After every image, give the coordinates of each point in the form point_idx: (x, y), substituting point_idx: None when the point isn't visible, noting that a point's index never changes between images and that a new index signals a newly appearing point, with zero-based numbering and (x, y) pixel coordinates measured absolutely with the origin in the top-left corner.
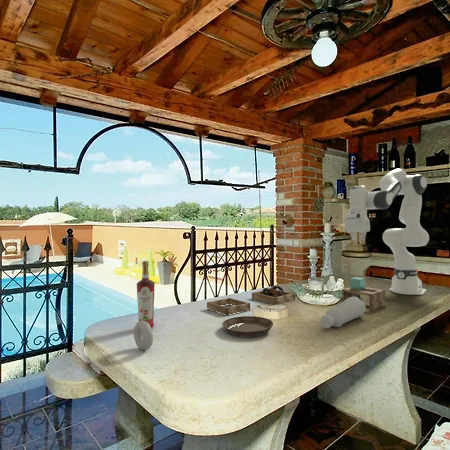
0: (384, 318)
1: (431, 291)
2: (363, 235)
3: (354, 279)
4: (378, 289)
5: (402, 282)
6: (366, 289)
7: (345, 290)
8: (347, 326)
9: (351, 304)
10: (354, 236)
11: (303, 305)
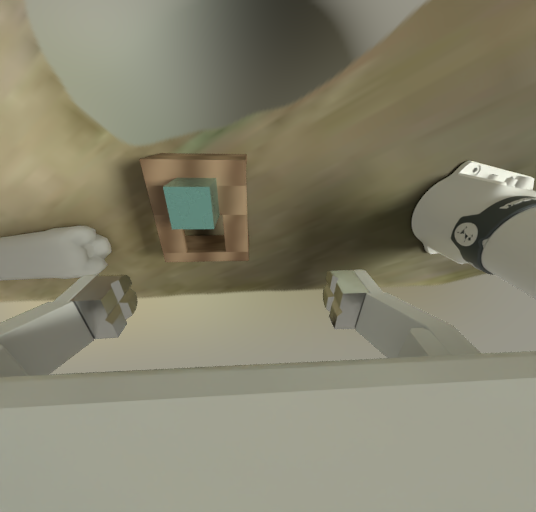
0: (147, 282)
1: None
2: (381, 331)
3: (167, 206)
4: (242, 245)
5: (443, 227)
6: (223, 216)
7: (144, 175)
8: None
9: (26, 277)
10: (52, 357)
11: (11, 49)
